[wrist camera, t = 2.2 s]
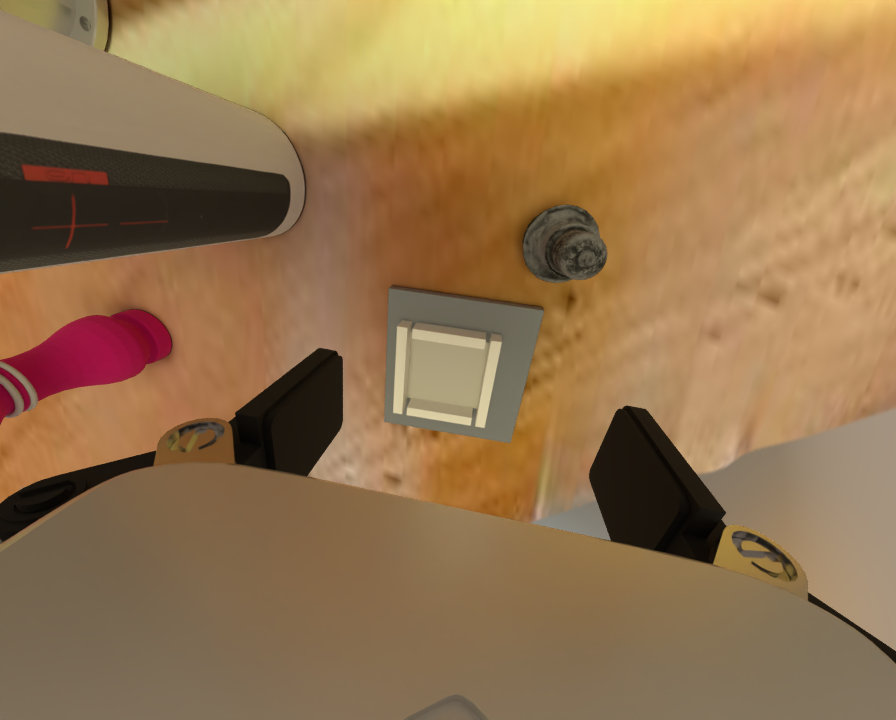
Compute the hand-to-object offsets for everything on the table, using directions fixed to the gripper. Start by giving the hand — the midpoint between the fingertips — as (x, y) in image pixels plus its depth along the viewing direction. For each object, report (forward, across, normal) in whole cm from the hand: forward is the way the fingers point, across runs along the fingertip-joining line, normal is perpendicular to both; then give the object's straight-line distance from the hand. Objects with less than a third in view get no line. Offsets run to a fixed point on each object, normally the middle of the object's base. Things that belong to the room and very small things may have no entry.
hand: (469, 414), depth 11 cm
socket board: (+22, +1, +10) cm, 24 cm away
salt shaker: (+22, -5, -5) cm, 24 cm away
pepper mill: (+22, +38, +12) cm, 46 cm away
